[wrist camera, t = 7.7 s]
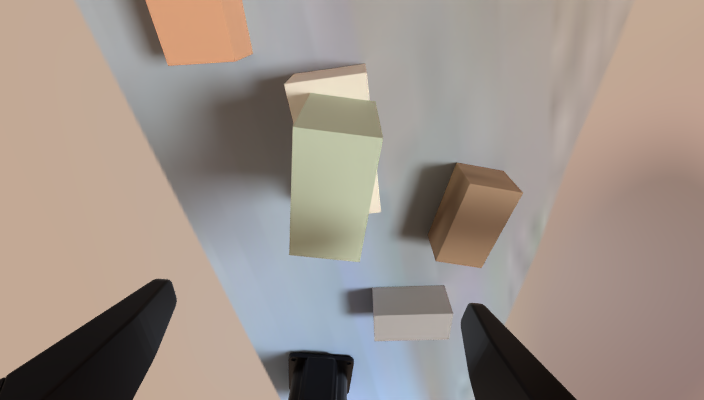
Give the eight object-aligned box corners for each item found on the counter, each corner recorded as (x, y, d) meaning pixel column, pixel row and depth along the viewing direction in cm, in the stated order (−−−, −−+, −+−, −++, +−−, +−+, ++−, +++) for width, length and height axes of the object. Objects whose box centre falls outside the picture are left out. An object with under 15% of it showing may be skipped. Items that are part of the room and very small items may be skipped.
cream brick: (378, 187, 21) (380, 212, 19) (321, 193, 22) (316, 218, 19) (365, 62, 17) (366, 72, 15) (294, 72, 17) (284, 84, 15)
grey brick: (443, 283, 26) (453, 313, 23) (440, 308, 28) (448, 339, 25) (372, 285, 26) (373, 315, 24) (373, 310, 28) (374, 341, 25)
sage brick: (358, 203, 18) (359, 261, 14) (304, 197, 18) (289, 254, 14) (375, 101, 15) (382, 138, 11) (310, 92, 15) (292, 126, 11)
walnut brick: (467, 239, 23) (481, 267, 21) (427, 233, 23) (435, 260, 21) (502, 169, 20) (523, 192, 18) (455, 161, 20) (470, 183, 17)
